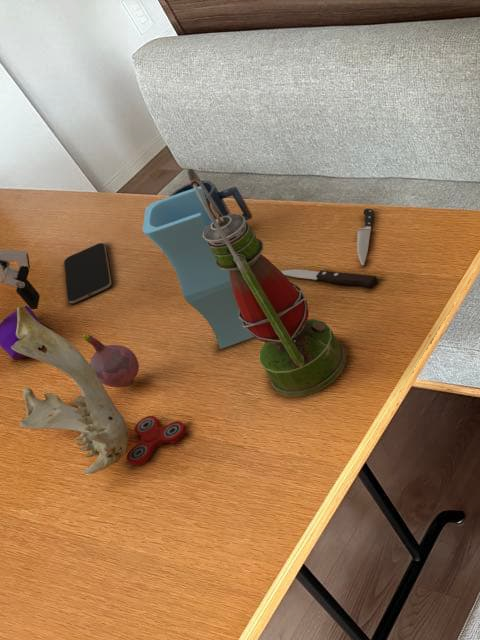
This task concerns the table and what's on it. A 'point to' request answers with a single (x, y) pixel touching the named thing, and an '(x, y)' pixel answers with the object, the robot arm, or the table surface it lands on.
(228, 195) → the mug
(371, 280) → the kitchen knife
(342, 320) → the table surface
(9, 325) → the purple eggplant
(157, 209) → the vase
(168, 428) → the fidget spinner
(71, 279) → the smartphone
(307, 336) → the lantern
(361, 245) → the knife
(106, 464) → the jawbone
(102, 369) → the vegetable
